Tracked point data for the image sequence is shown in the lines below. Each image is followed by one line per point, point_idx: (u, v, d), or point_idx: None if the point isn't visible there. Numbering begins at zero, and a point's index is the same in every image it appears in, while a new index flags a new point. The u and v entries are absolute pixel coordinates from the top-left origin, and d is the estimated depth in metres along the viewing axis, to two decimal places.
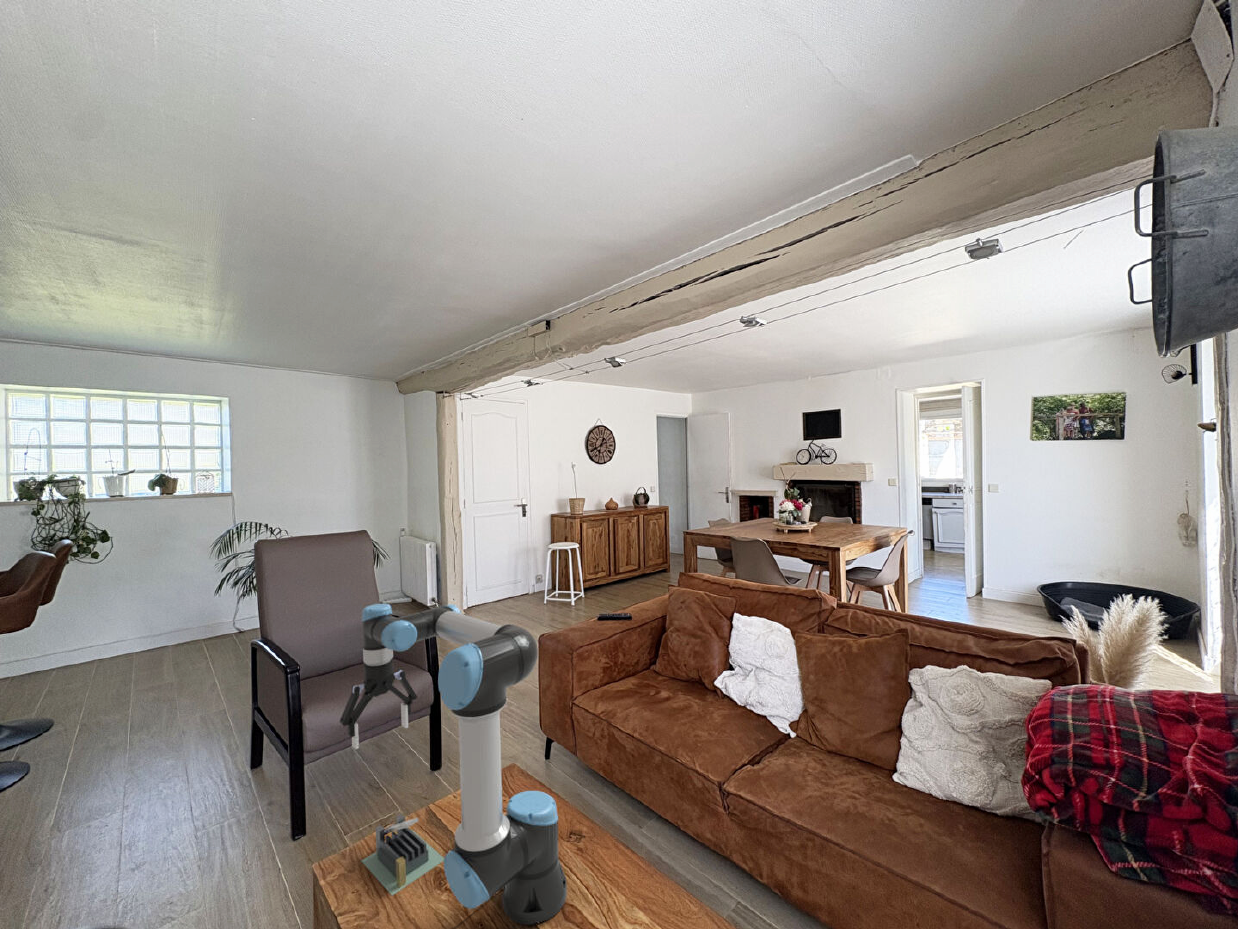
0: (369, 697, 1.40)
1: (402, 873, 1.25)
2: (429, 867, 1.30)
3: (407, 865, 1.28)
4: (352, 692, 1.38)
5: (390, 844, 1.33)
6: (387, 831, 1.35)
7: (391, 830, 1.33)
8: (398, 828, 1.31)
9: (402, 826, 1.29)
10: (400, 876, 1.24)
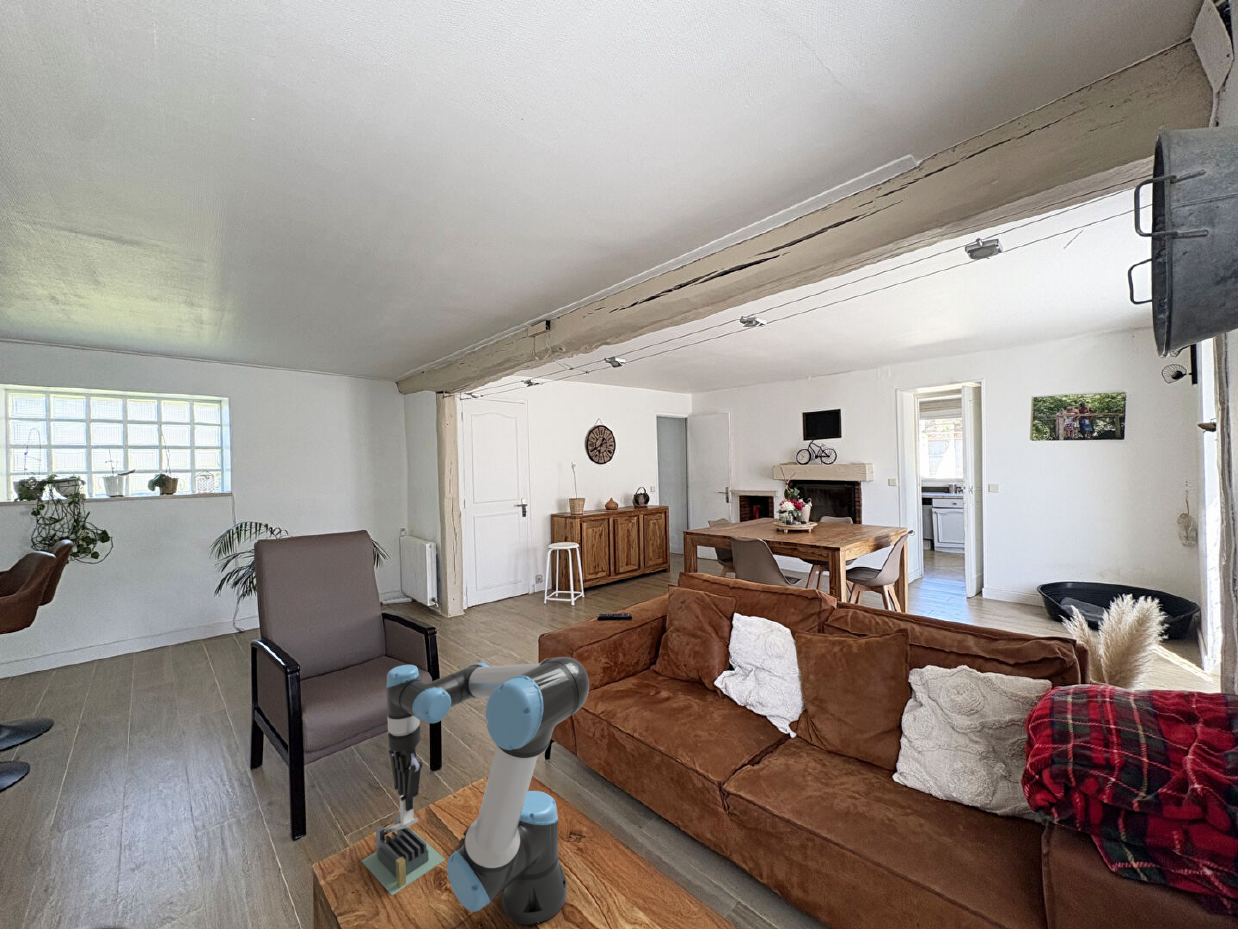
0: (395, 765, 1.30)
1: (402, 873, 1.25)
2: (429, 867, 1.30)
3: (407, 865, 1.28)
4: None
5: (390, 844, 1.33)
6: (387, 831, 1.35)
7: (391, 830, 1.33)
8: (398, 828, 1.31)
9: (402, 826, 1.29)
10: (400, 876, 1.24)
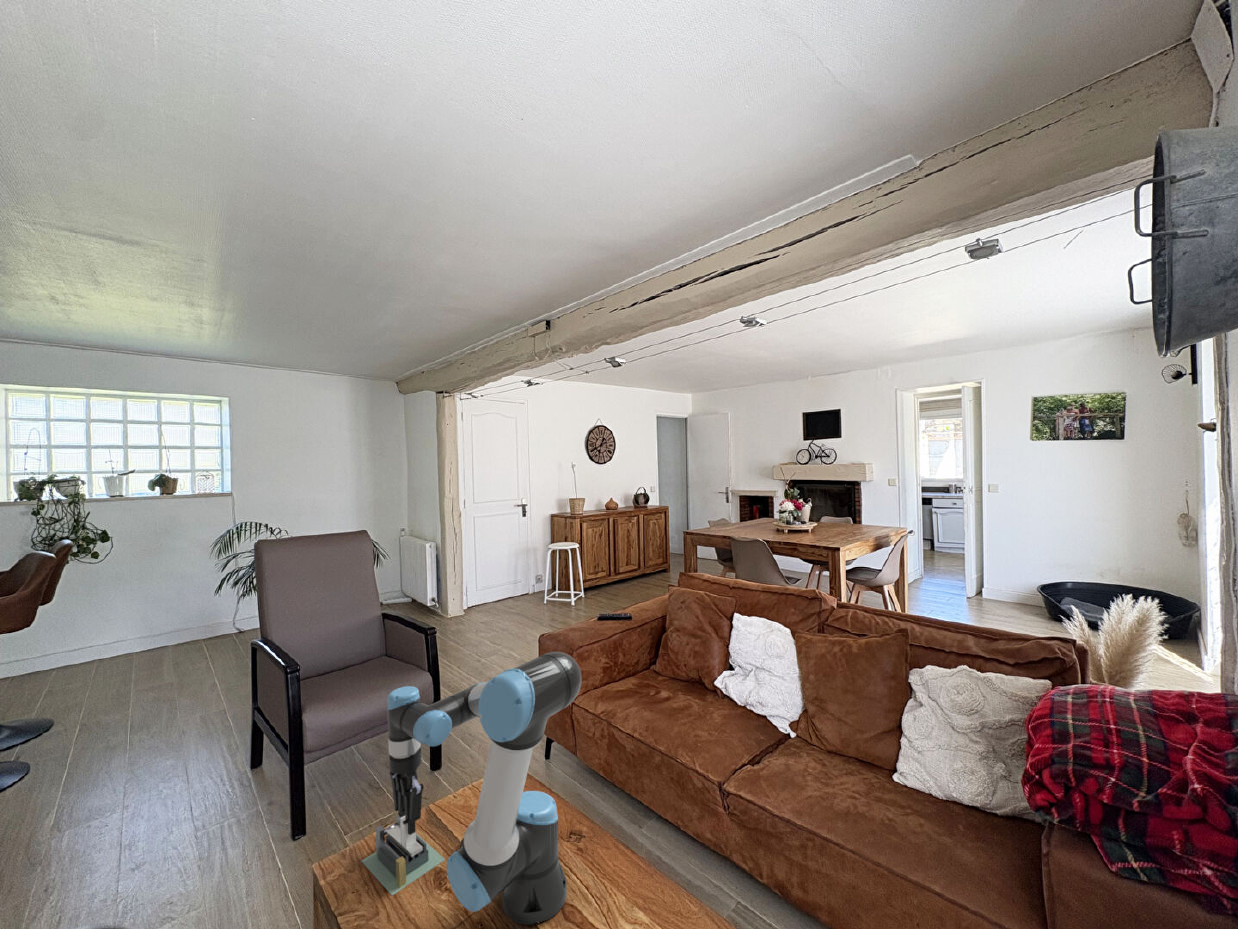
0: (396, 787, 1.30)
1: (402, 873, 1.25)
2: (429, 867, 1.30)
3: (407, 865, 1.28)
4: None
5: (390, 844, 1.33)
6: (387, 834, 1.35)
7: (392, 839, 1.33)
8: (401, 846, 1.30)
9: (406, 850, 1.28)
10: (400, 876, 1.24)
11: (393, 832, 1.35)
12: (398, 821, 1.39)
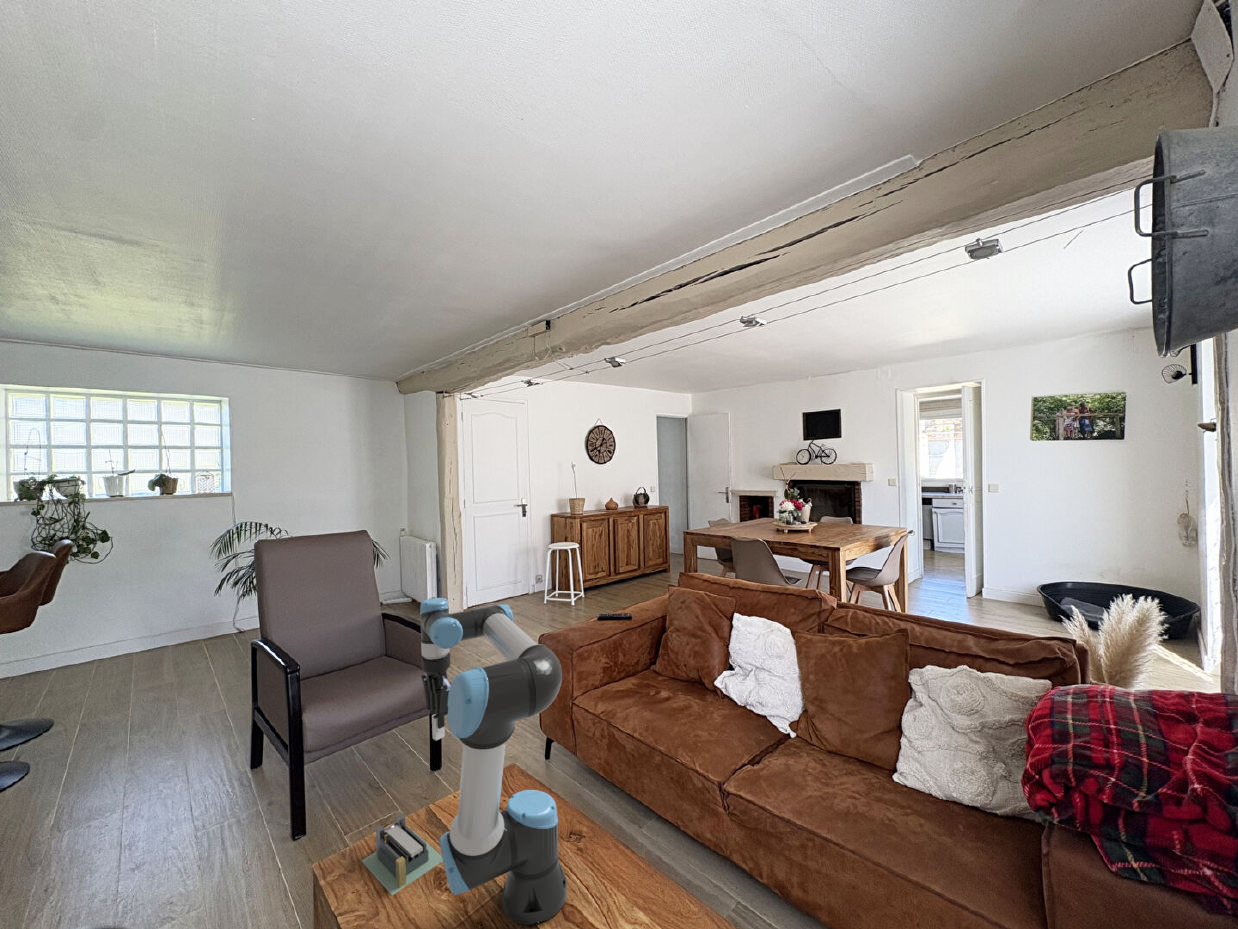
0: (428, 687, 1.44)
1: (402, 873, 1.25)
2: (429, 867, 1.30)
3: (407, 865, 1.28)
4: None
5: (390, 844, 1.33)
6: (387, 834, 1.35)
7: (392, 839, 1.33)
8: (401, 846, 1.30)
9: (406, 850, 1.28)
10: (400, 876, 1.24)
11: (393, 832, 1.35)
12: (398, 821, 1.39)
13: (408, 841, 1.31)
